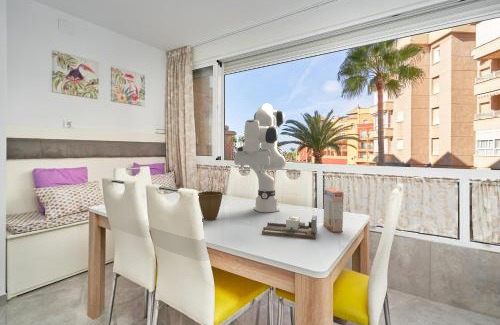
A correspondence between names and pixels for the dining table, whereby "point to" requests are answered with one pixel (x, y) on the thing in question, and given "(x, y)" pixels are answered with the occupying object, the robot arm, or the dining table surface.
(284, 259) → the dining table surface
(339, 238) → the dining table surface
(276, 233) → the gauge bench
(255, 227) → the dining table surface
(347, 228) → the dining table surface
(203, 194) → the plant pot
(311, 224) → the grey long frame
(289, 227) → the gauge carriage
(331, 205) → the cracker box
